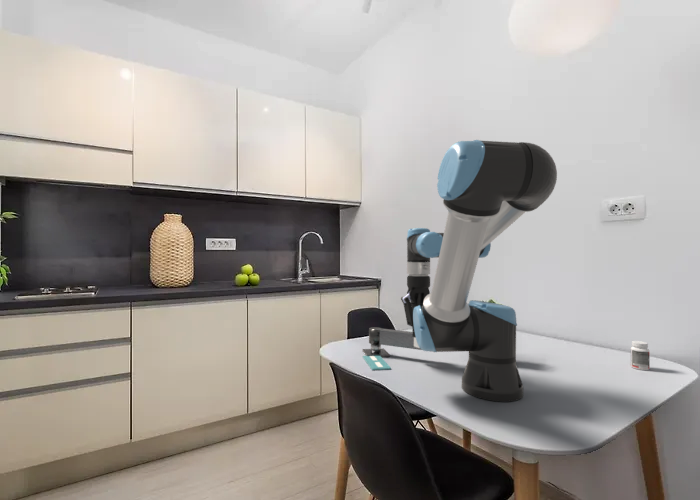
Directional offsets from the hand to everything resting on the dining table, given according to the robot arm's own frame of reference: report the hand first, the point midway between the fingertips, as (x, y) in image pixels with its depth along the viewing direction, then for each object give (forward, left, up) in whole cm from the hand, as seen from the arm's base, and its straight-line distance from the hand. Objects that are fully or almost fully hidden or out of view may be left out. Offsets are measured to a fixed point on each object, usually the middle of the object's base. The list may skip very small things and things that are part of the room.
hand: (418, 346), depth 118 cm
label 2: (-1, +14, -5) cm, 15 cm away
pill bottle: (-14, -70, -6) cm, 72 cm away
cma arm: (+7, +4, -1) cm, 8 cm away
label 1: (+6, +14, -5) cm, 16 cm away
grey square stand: (+13, +11, -5) cm, 18 cm away
